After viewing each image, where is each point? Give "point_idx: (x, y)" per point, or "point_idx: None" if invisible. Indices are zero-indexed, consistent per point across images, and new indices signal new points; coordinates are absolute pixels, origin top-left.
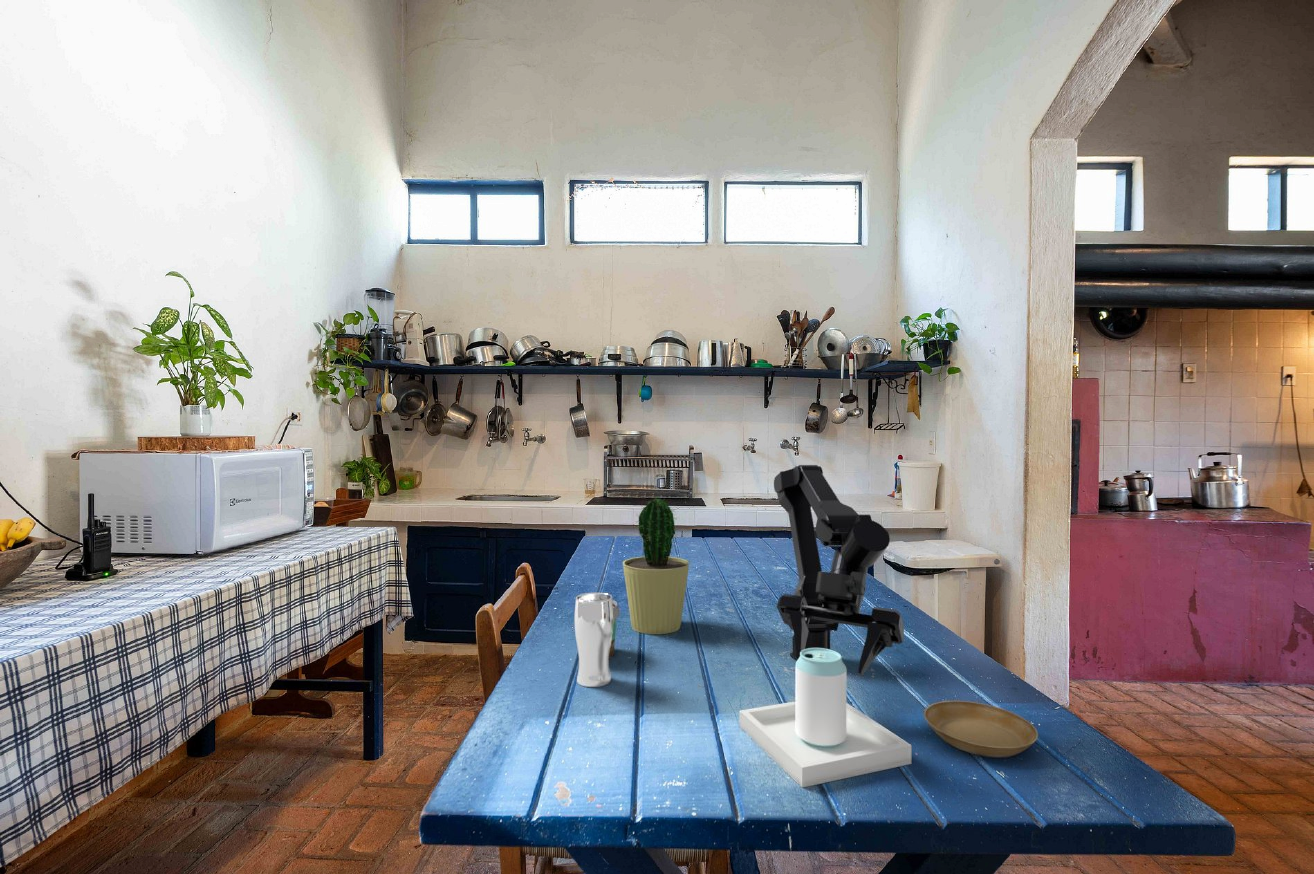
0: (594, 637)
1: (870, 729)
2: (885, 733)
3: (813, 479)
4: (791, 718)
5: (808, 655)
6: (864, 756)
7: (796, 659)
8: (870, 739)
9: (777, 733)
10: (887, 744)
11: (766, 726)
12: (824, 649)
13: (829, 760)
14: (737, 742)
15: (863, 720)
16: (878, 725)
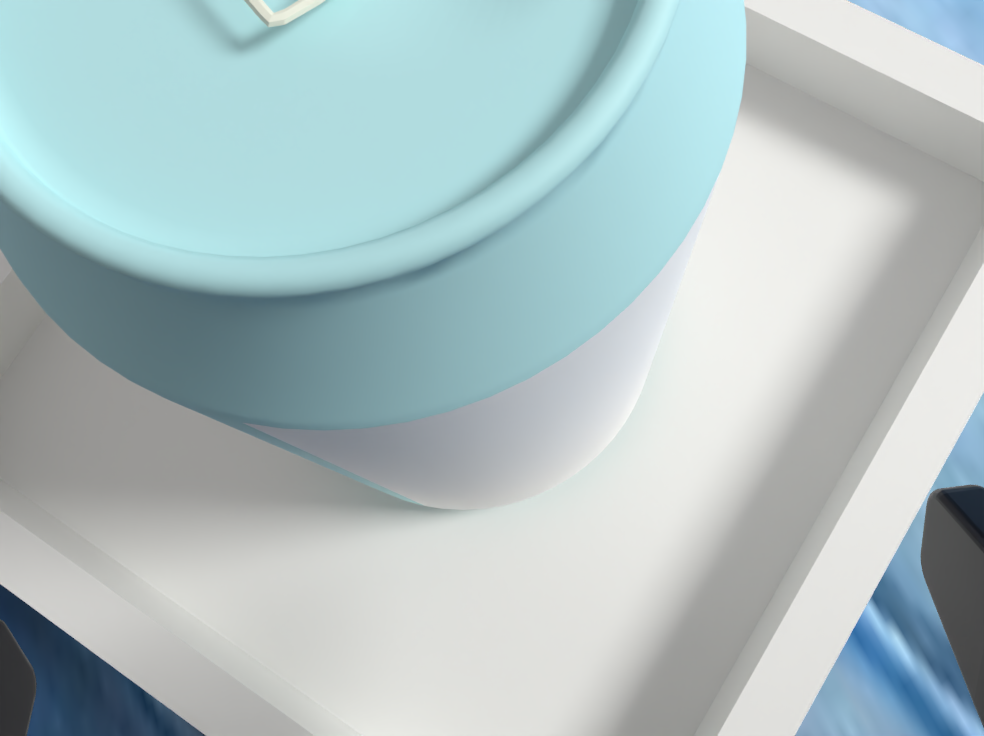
0: None
1: (173, 616)
2: (13, 518)
3: None
4: (793, 484)
5: (653, 183)
6: None
7: (980, 491)
8: (170, 539)
9: (745, 195)
10: (38, 510)
11: (870, 240)
12: (350, 252)
13: None
14: (921, 9)
15: (227, 665)
16: (86, 619)
